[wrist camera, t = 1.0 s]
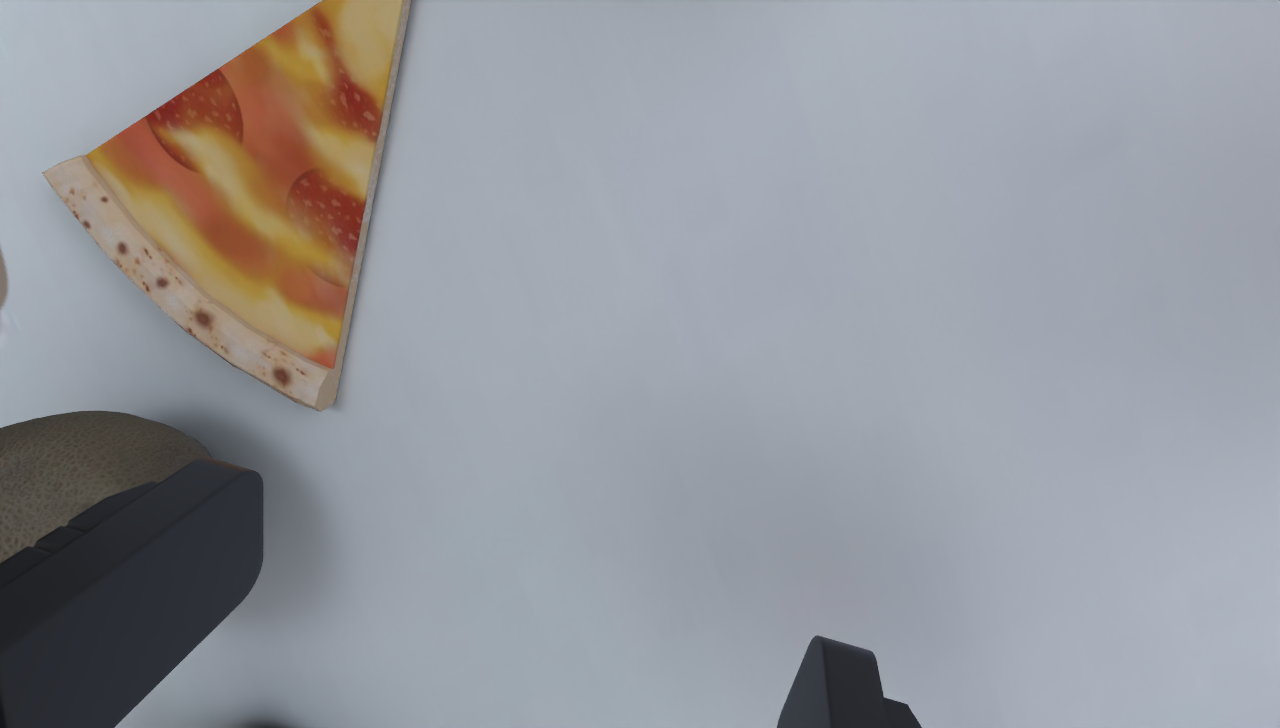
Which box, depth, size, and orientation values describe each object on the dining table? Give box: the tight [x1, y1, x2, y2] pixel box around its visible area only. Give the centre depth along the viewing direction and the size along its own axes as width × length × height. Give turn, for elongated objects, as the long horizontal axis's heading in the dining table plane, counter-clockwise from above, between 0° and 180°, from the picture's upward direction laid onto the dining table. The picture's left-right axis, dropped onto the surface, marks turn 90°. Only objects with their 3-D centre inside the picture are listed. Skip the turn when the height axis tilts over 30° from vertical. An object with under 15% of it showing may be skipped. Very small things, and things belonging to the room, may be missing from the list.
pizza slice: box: [42, 0, 411, 412], centre depth 33 cm, size 16×22×2 cm
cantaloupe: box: [0, 411, 215, 563], centre depth 34 cm, size 14×14×15 cm
